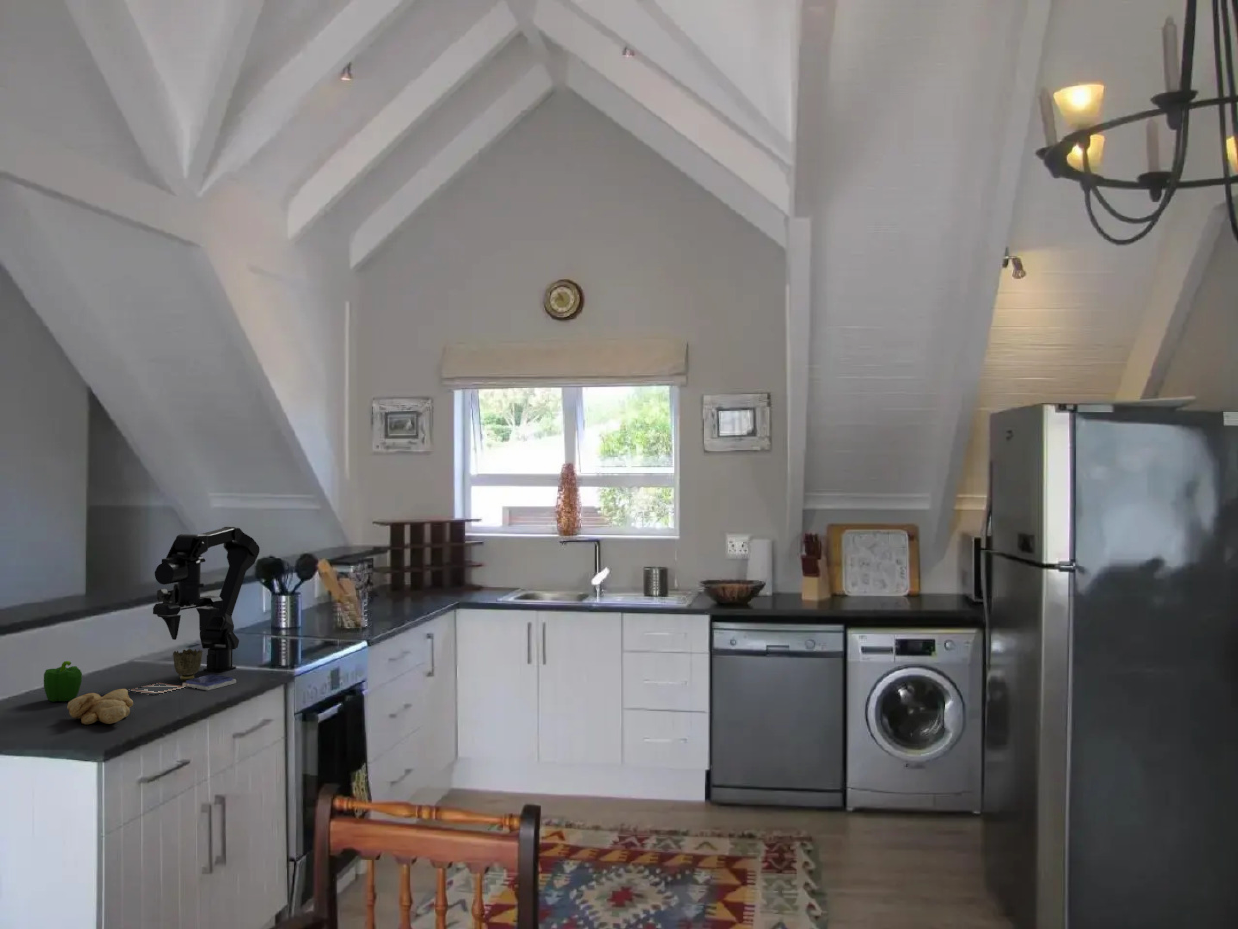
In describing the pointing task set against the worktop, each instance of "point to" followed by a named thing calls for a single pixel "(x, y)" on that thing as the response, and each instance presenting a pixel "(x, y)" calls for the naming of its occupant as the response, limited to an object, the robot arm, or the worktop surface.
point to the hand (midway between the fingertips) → (188, 636)
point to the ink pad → (209, 682)
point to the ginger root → (101, 707)
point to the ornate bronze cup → (187, 663)
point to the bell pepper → (62, 682)
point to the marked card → (158, 686)
